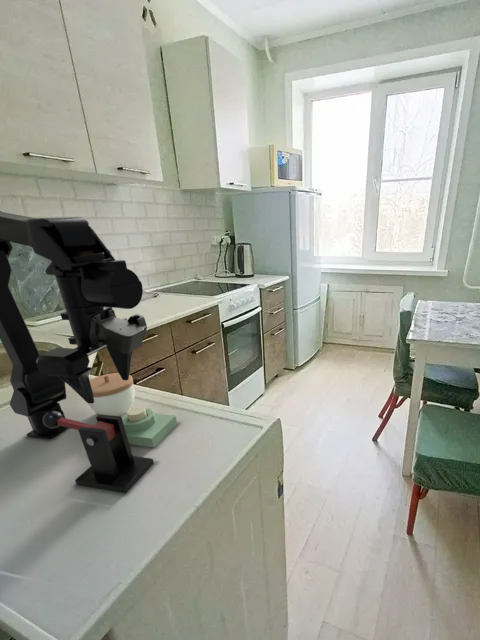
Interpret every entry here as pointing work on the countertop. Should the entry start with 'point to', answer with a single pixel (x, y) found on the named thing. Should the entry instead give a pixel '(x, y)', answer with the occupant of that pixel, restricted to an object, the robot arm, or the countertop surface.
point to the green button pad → (148, 428)
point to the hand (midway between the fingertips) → (109, 390)
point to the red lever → (75, 423)
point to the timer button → (136, 414)
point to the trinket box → (112, 394)
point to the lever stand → (111, 458)
